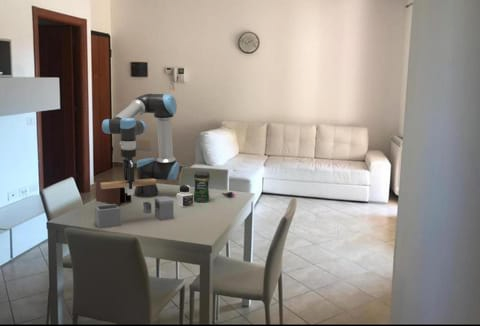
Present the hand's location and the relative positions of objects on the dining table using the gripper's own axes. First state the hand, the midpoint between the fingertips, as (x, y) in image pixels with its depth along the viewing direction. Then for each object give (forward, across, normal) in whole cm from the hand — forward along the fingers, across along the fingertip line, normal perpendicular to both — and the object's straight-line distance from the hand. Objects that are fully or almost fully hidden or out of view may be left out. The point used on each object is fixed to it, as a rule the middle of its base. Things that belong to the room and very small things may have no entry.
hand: (129, 193), depth 237 cm
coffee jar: (+15, -22, +51) cm, 57 cm away
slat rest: (+15, -13, +4) cm, 20 cm away
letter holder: (+15, -41, +2) cm, 44 cm away
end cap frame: (+15, 0, +3) cm, 15 cm away
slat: (-4, 0, 0) cm, 4 cm away
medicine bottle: (+15, -17, +38) cm, 44 cm away
